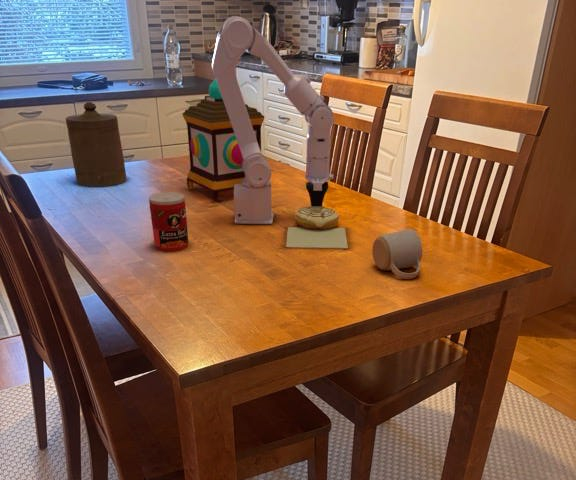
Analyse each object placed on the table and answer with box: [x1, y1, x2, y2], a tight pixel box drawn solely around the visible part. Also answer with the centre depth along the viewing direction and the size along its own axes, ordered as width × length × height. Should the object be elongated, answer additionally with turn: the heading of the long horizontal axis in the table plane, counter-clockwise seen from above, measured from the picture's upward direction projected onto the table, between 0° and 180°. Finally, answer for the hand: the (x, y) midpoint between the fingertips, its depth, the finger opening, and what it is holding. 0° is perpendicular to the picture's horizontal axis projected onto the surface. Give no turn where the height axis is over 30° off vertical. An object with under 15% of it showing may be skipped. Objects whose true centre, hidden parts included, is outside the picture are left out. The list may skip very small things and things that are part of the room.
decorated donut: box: [294, 205, 340, 230], centre depth 144 cm, size 10×11×4 cm
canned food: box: [148, 191, 189, 252], centre depth 129 cm, size 8×8×11 cm
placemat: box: [285, 226, 349, 250], centre depth 137 cm, size 14×14×1 cm
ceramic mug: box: [371, 228, 423, 280], centre depth 119 cm, size 11×8×8 cm
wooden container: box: [65, 101, 127, 188], centre depth 174 cm, size 15×15×22 cm
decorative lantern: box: [182, 78, 265, 203], centre depth 162 cm, size 20×20×30 cm
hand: (316, 212), depth 150 cm, fingers closed
